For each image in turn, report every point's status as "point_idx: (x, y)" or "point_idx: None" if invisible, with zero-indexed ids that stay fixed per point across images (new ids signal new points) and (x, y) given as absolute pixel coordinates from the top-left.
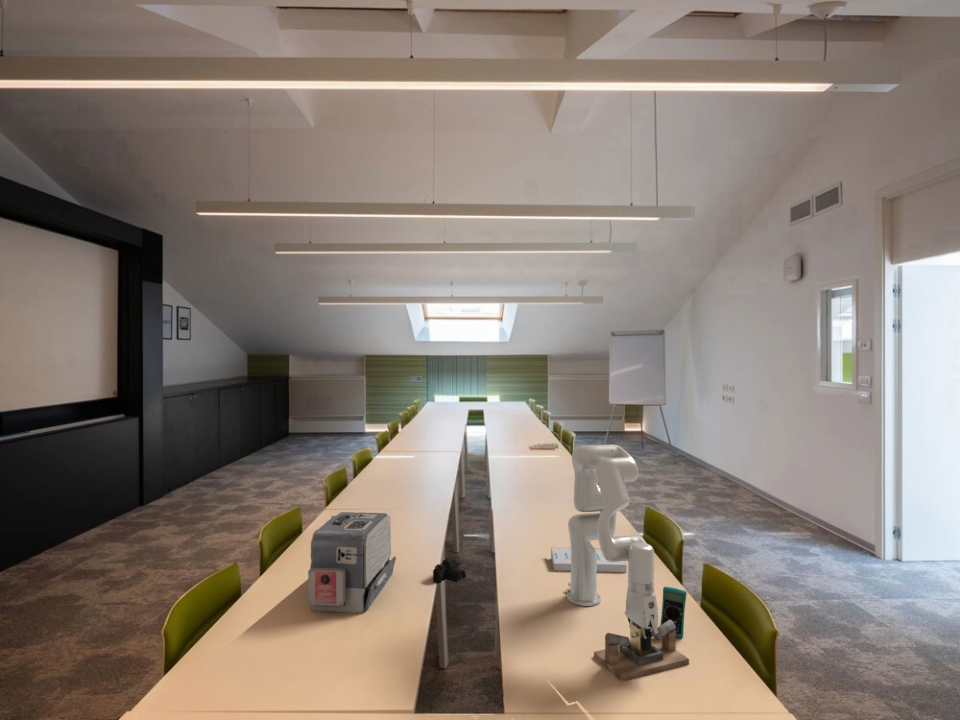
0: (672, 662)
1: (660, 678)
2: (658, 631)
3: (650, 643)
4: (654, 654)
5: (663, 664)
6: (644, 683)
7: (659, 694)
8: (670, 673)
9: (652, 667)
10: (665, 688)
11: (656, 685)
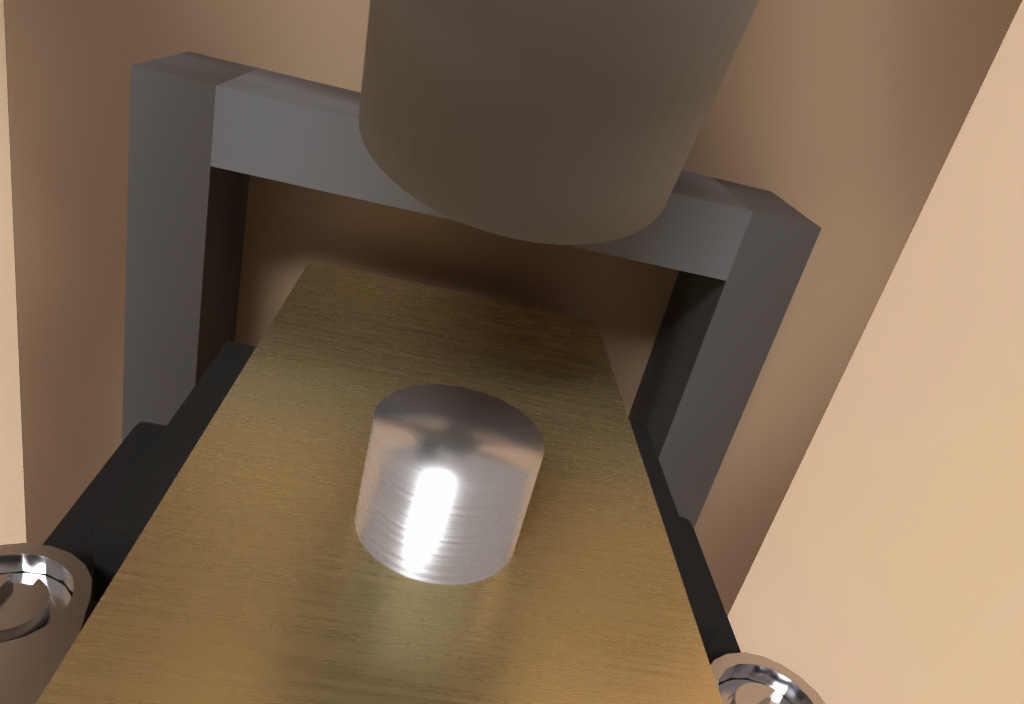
0: (942, 123)
1: (884, 473)
2: (663, 111)
3: (714, 586)
4: (726, 408)
5: (849, 309)
6: (794, 666)
7: (1007, 686)
8: (939, 277)
9: (766, 498)
10: (1019, 576)
11: (913, 605)
